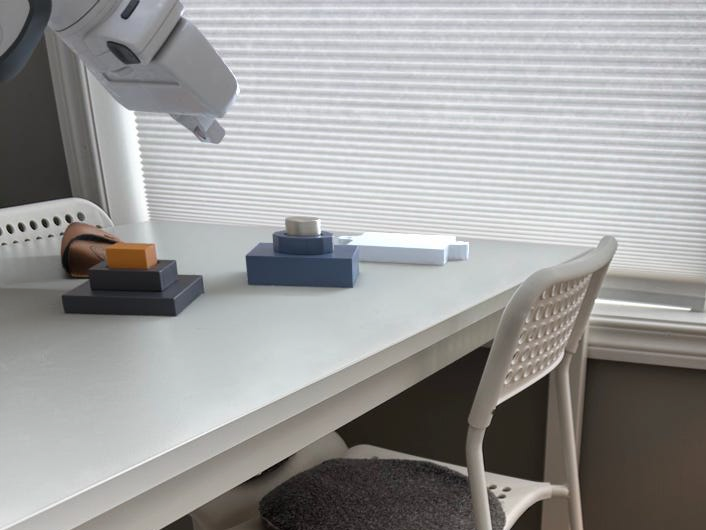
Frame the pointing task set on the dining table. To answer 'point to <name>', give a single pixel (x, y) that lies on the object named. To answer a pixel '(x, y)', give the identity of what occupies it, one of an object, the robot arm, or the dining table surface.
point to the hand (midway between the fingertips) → (215, 138)
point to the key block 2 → (303, 262)
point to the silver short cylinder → (302, 226)
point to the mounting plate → (407, 248)
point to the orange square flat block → (131, 255)
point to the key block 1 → (134, 291)
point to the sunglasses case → (84, 248)
